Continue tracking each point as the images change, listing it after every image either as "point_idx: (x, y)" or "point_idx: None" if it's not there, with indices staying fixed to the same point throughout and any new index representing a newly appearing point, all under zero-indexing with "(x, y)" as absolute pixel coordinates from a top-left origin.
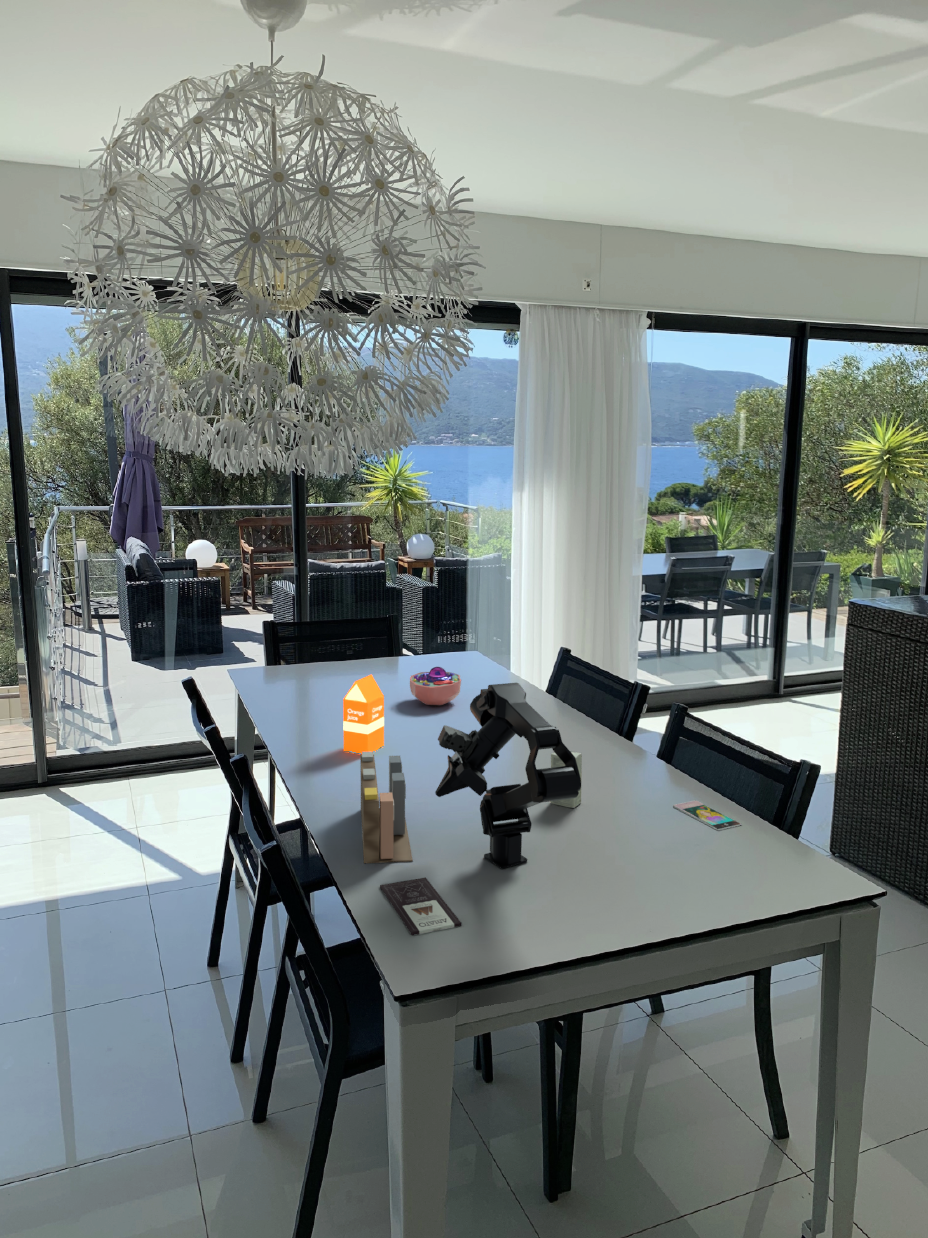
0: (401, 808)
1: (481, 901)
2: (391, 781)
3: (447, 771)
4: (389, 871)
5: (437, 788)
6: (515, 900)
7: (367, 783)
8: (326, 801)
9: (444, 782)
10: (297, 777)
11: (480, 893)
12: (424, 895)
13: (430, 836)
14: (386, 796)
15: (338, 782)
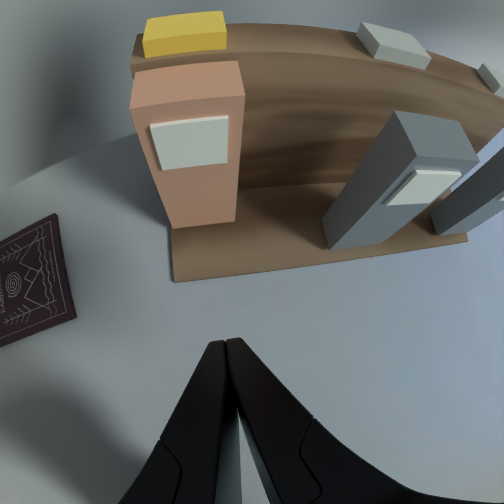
0: (357, 206)
1: (7, 424)
2: (481, 171)
3: (330, 489)
4: (123, 227)
5: (244, 355)
6: (23, 485)
7: (321, 35)
8: None
9: (170, 433)
10: None
11: (31, 432)
12: (7, 309)
13: (342, 324)
14: (191, 80)
15: (496, 139)
